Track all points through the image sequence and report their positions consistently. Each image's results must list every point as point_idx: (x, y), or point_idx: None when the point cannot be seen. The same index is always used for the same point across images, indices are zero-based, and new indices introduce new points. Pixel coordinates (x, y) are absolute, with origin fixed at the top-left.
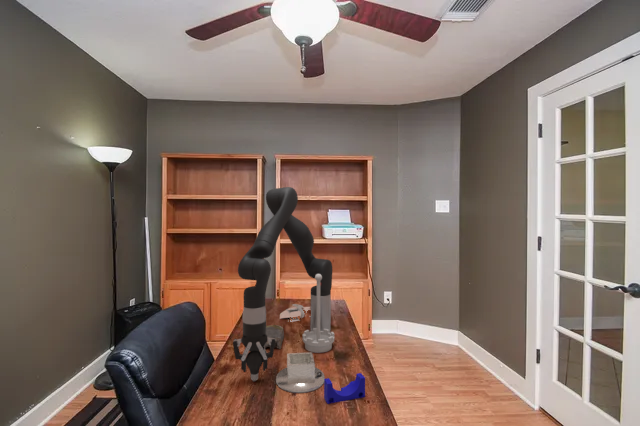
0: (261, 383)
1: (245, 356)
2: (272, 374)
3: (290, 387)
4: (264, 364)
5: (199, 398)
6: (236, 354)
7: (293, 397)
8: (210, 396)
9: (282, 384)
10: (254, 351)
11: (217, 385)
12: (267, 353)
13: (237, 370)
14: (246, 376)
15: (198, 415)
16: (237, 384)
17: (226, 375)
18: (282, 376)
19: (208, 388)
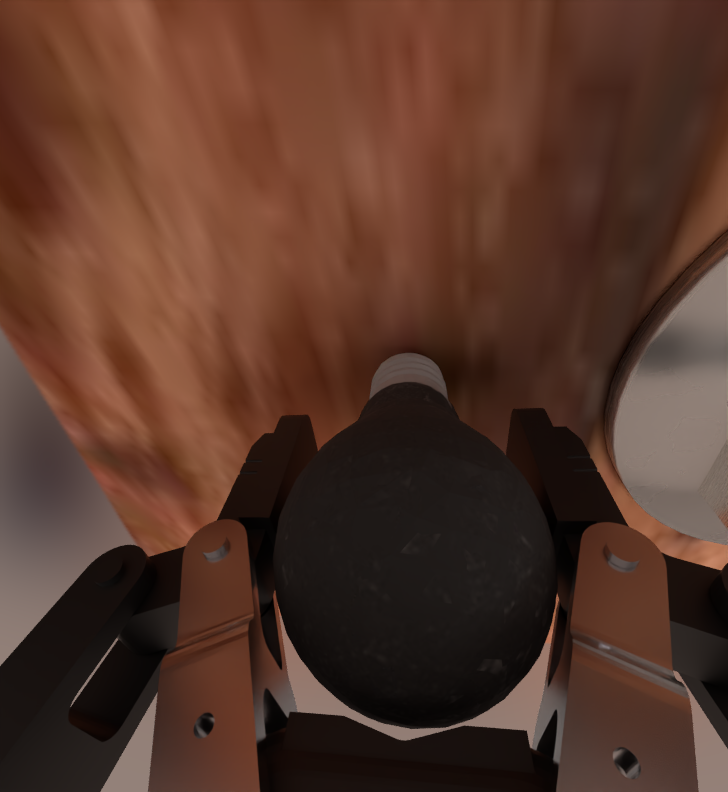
0: (471, 409)
1: (273, 652)
2: (603, 256)
3: (700, 522)
4: None
5: (125, 512)
6: (125, 690)
7: (674, 552)
8: (172, 504)
9: (650, 489)
10: (410, 727)
11: (135, 411)
12: (671, 636)
13: (154, 135)
14: (313, 289)
15: None
16: (278, 409)
17: (103, 261)
18: (703, 383)
19: (101, 438)
